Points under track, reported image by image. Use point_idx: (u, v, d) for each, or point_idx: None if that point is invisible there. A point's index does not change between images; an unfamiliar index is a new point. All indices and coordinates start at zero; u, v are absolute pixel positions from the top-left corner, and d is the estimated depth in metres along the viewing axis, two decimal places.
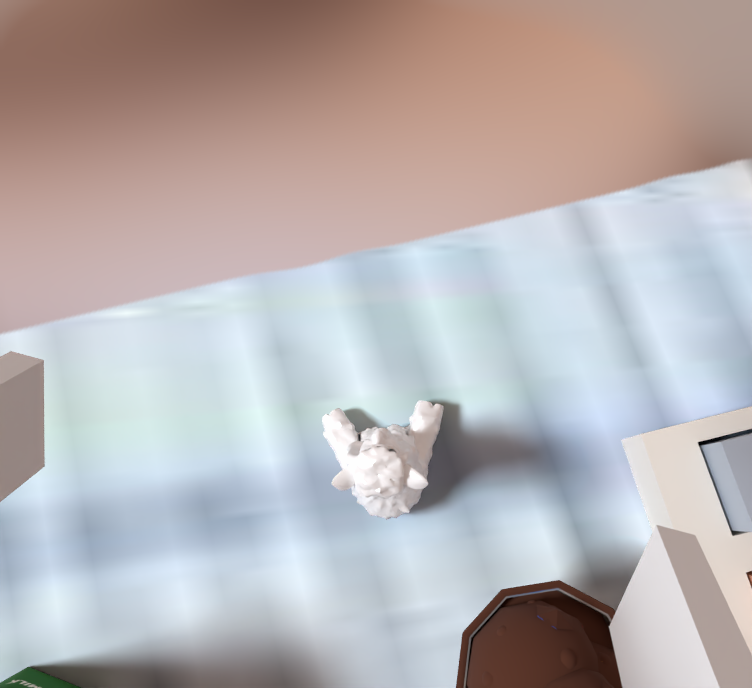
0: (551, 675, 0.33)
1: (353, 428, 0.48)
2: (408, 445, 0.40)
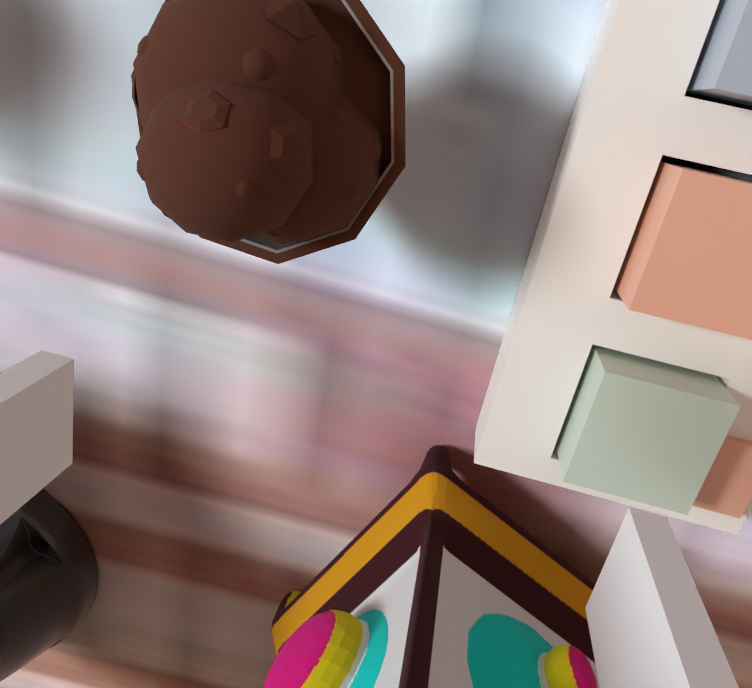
0: (215, 71, 0.20)
1: None
2: None
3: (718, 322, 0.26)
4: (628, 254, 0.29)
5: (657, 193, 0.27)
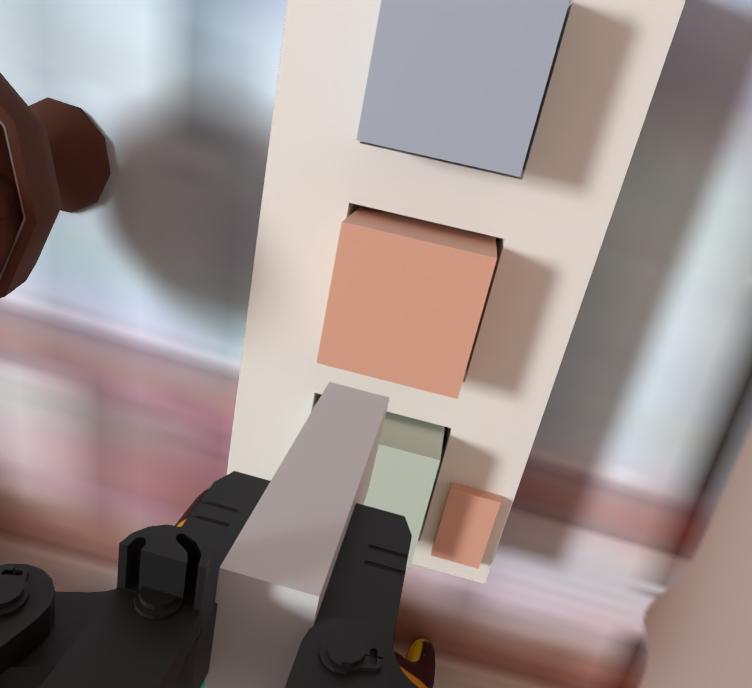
0: None
1: None
2: None
3: (403, 376, 0.26)
4: None
5: None
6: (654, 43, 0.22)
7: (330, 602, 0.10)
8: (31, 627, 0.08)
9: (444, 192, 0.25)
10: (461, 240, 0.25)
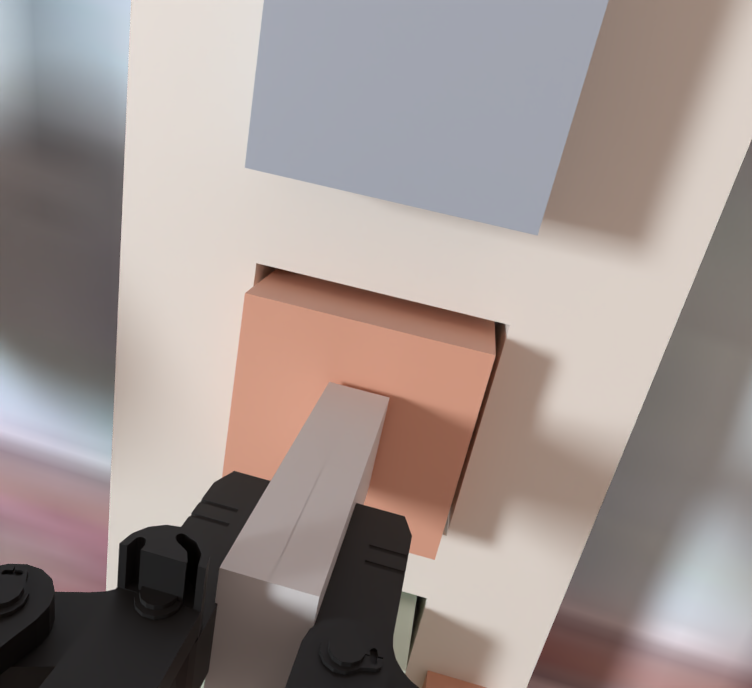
0: None
1: None
2: None
3: None
4: None
5: None
6: None
7: (330, 602, 0.10)
8: (31, 628, 0.08)
9: (408, 249, 0.15)
10: (439, 317, 0.16)
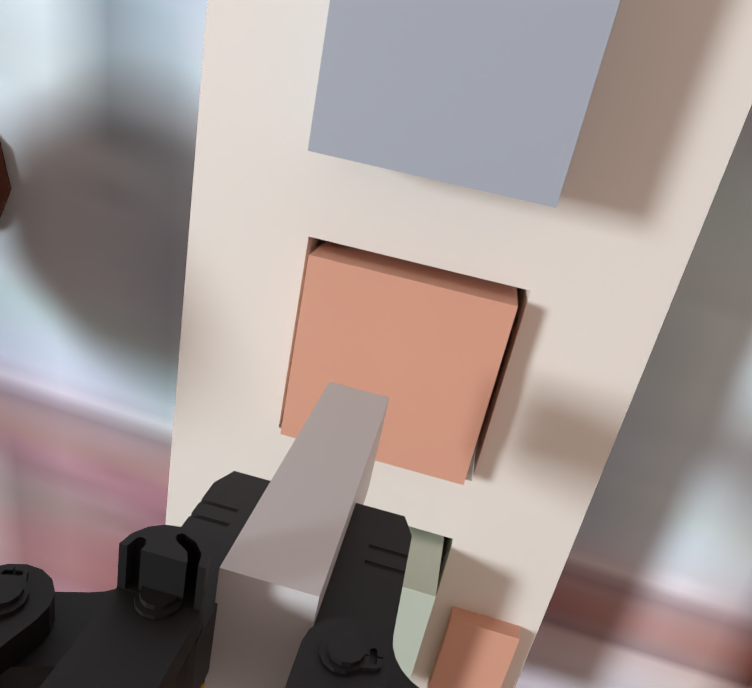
0: None
1: None
2: None
3: (392, 454, 0.20)
4: None
5: None
6: None
7: (330, 602, 0.10)
8: (31, 627, 0.08)
9: (442, 224, 0.17)
10: (470, 278, 0.19)
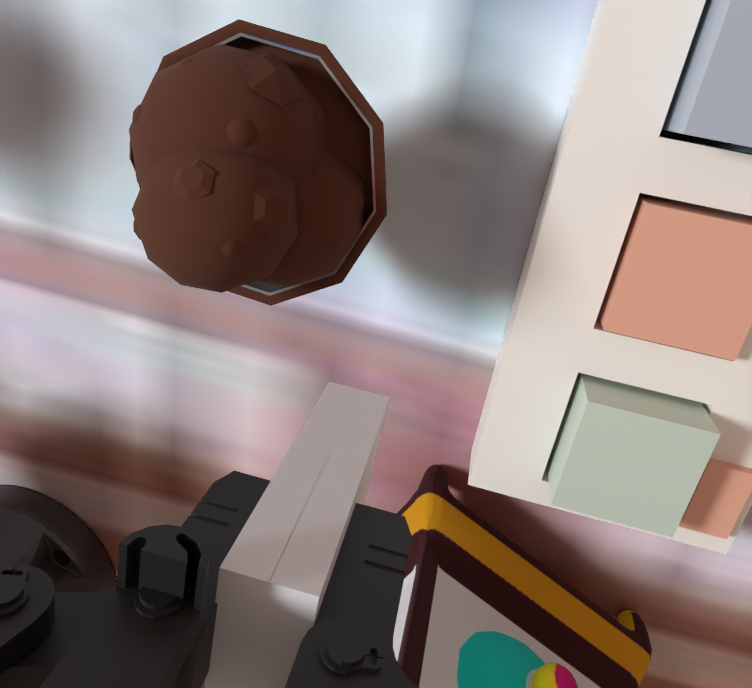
0: (202, 140, 0.21)
1: None
2: None
3: (686, 341, 0.29)
4: None
5: None
6: None
7: (330, 602, 0.10)
8: (31, 627, 0.08)
9: (738, 182, 0.27)
10: (744, 219, 0.28)
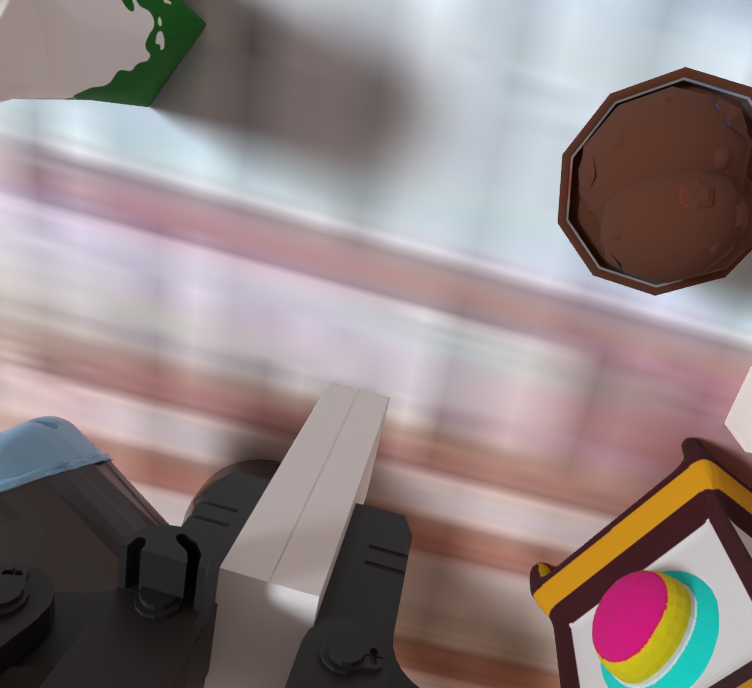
0: (694, 163, 0.27)
1: None
2: None
3: None
4: None
5: None
6: None
7: (330, 602, 0.10)
8: (31, 627, 0.08)
9: None
10: None
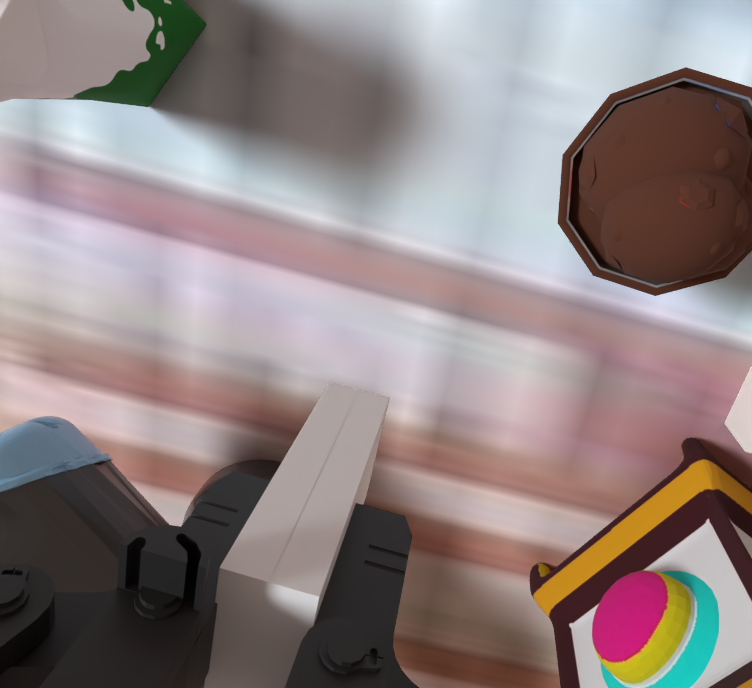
0: (694, 164, 0.27)
1: None
2: None
3: None
4: None
5: None
6: None
7: (330, 602, 0.10)
8: (31, 627, 0.08)
9: None
10: None
